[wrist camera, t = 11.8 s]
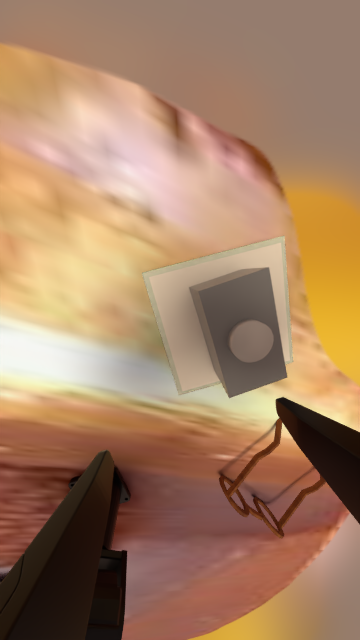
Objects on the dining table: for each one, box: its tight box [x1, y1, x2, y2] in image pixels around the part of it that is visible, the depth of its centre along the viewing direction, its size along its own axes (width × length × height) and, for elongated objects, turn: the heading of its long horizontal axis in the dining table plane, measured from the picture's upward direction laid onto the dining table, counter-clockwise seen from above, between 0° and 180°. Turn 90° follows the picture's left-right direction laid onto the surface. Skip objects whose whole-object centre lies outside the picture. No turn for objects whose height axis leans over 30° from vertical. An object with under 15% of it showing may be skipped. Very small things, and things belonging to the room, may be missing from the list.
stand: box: [142, 236, 293, 395], centre depth 18 cm, size 13×13×3 cm
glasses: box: [219, 418, 326, 538], centre depth 24 cm, size 13×13×5 cm
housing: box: [189, 267, 287, 398], centre depth 14 cm, size 5×9×5 cm, turn 18°
